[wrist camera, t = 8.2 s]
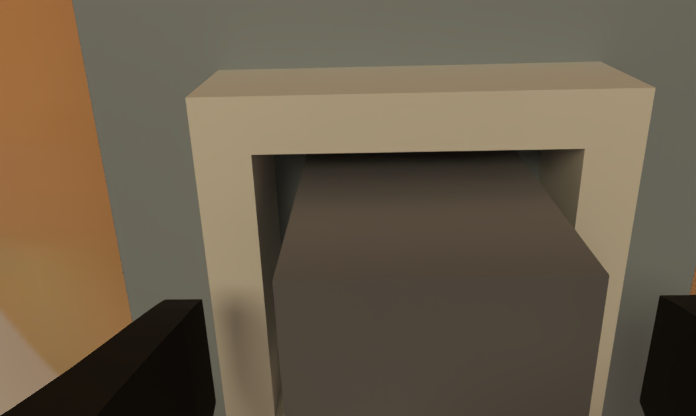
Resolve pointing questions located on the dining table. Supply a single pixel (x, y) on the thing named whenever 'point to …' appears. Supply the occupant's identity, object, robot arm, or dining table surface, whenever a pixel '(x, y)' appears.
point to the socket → (388, 143)
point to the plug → (434, 290)
